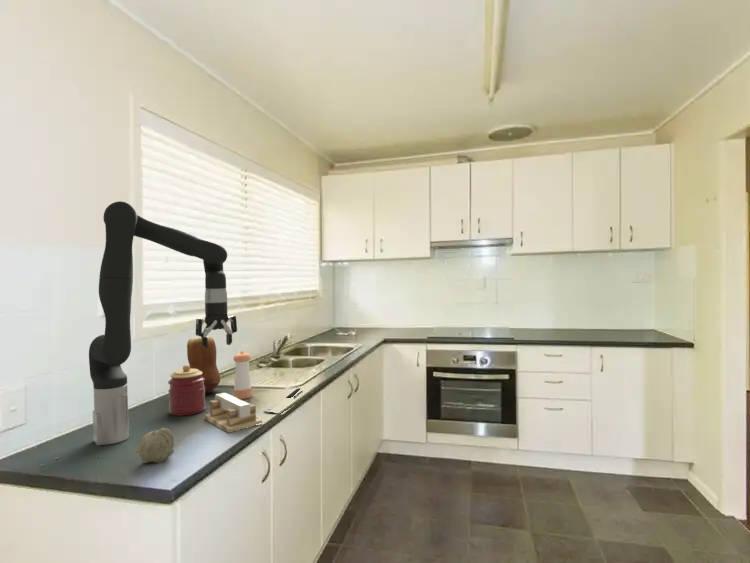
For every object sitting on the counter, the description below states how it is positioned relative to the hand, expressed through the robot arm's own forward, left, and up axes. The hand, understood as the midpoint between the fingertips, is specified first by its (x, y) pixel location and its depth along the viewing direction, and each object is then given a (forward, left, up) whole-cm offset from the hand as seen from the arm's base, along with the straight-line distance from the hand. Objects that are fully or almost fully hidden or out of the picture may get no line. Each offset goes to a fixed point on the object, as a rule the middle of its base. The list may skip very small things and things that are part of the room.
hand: (217, 346), depth 160 cm
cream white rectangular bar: (+2, -7, -22) cm, 23 cm away
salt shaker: (+19, +20, -26) cm, 38 cm away
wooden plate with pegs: (+2, -7, -26) cm, 27 cm away
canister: (-5, +17, -26) cm, 32 cm away
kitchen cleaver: (+29, -1, -27) cm, 40 cm away
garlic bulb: (-28, -23, -26) cm, 45 cm away
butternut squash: (+9, +37, -26) cm, 46 cm away
